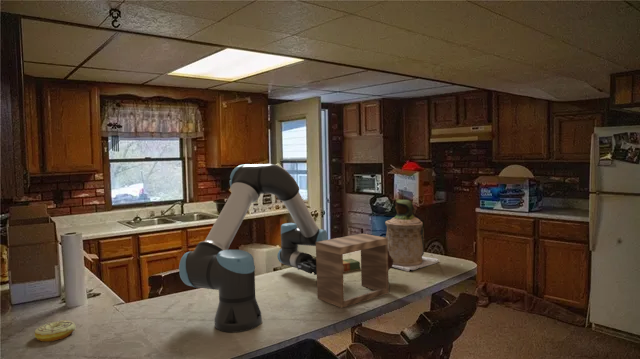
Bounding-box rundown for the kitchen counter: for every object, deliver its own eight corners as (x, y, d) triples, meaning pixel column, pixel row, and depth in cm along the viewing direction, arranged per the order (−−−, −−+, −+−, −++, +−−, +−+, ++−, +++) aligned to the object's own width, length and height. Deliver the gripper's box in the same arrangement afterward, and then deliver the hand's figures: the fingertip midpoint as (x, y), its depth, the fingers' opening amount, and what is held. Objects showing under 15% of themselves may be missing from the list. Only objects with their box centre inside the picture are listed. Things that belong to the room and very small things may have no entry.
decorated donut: (83, 331, 139) (82, 320, 139) (51, 345, 129) (50, 333, 129) (60, 327, 143) (59, 316, 143) (27, 340, 133) (26, 328, 133)
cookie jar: (410, 272, 195) (409, 202, 193) (369, 263, 213) (367, 199, 211) (440, 262, 212) (439, 197, 210) (399, 254, 230) (398, 194, 228)
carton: (322, 271, 204) (321, 262, 203) (351, 266, 211) (351, 257, 211) (330, 275, 196) (329, 265, 196) (360, 270, 203) (360, 261, 203)
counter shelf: (341, 307, 153) (339, 247, 152) (317, 298, 164) (315, 241, 163) (388, 293, 167) (387, 237, 166) (363, 285, 178) (362, 233, 177)
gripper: (320, 265, 198) (353, 275, 180) (283, 273, 186) (316, 285, 168) (319, 249, 198) (353, 257, 180) (282, 256, 186) (315, 266, 168)
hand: (335, 271), depth 174 cm, fingers closed on downlight, 7 cm apart
